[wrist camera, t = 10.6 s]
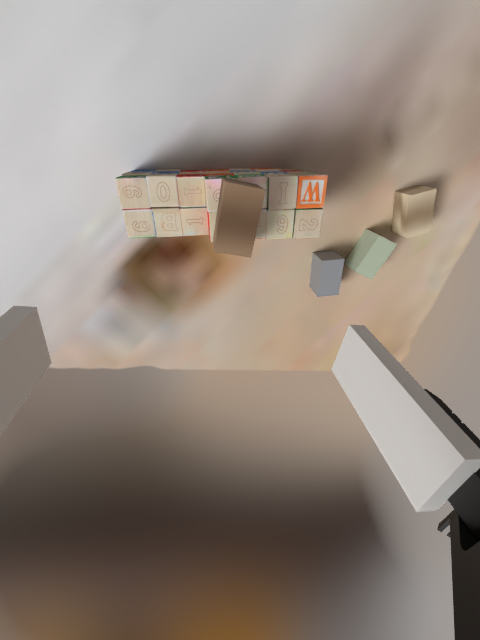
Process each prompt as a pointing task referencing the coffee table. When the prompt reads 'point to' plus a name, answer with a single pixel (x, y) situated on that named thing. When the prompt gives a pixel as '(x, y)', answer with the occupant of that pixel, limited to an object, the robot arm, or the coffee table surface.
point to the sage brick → (369, 254)
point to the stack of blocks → (203, 196)
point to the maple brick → (413, 210)
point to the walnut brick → (237, 217)
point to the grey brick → (326, 273)
